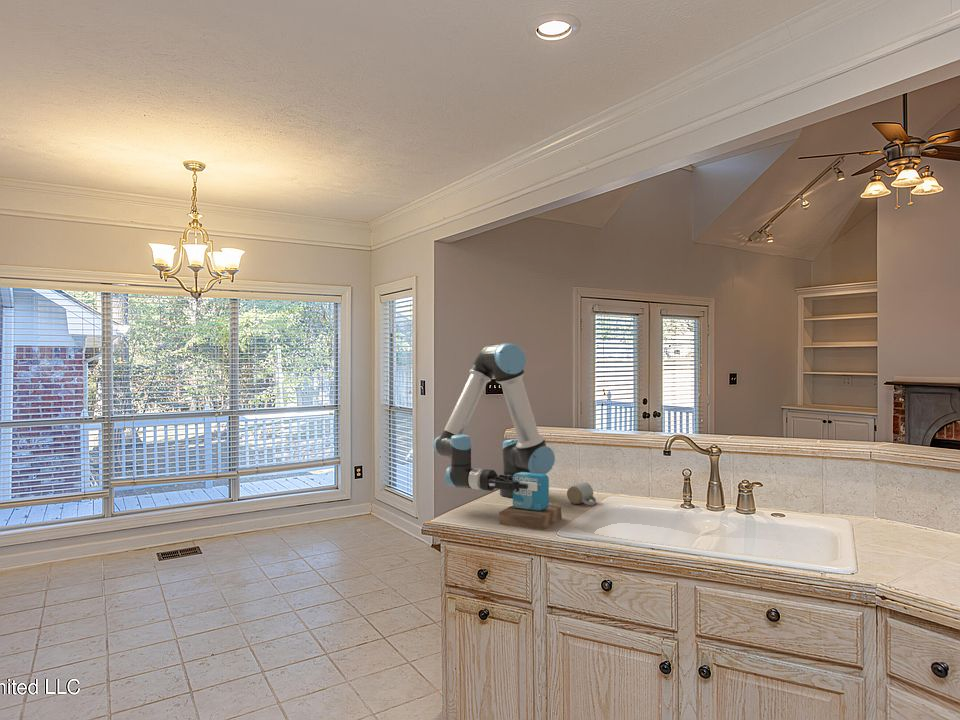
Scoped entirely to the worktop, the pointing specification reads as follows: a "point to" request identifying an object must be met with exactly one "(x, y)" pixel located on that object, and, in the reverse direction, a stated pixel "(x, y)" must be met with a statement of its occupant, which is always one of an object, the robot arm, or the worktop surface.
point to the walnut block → (530, 517)
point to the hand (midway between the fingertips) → (540, 485)
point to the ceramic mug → (581, 494)
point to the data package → (532, 492)
